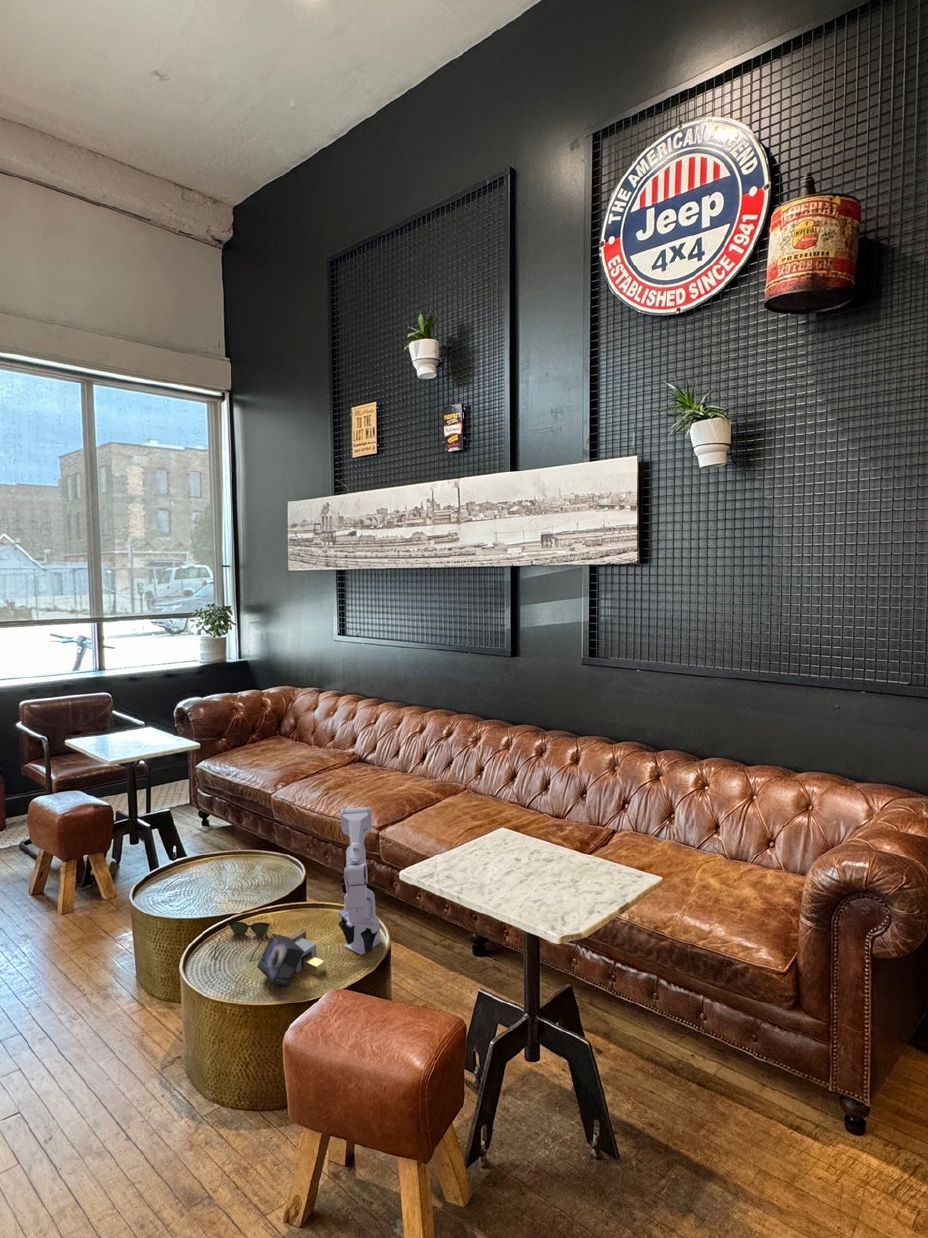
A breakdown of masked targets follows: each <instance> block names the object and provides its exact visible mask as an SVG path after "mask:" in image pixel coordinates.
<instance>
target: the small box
mask: <svg viewBox="0 0 928 1238" xmlns="http://www.w3.org/2000/svg"><path fill="white" fill-rule="evenodd" d="M303 953H304V950H303V949H301V948H300V947H299V946H298V945H297V944H296V943H295V942H293V941H292V940H291V939H290V938H289V936H286V935H282V934H278V933H272V934H271V936H270V938H269V940H268V943H267V944H266V947H265V949H264V951H263V953H262V955H261V958H260V960H259V961H258V964H257V966H256V968H257V969H259V970H260V972H261V973H262V974H264V976H265V977H266V978H267V979H268V980H269V981H270V982H271V983H273V984H277V985H282V986H286V987H289V985H290V983H291V981H292V979H293V977H294V974H295V970H296V968H297V966H298V963H299V961H300V959H301V957H302V955H303Z"/></svg>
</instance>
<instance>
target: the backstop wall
mask: <svg viewBox="0 0 928 1238" xmlns="http://www.w3.org/2000/svg"><path fill="white" fill-rule="evenodd" d="M288 937H289V938H290V939H291V940H292V941H293V942H294V941H296V940H297V939H299V938H300V937H301V938H304V939H306V940H307V931H306V930H304V929H300V930H298V931H297V932H295V933H294V934H291V935H290V936H288Z"/></svg>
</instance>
